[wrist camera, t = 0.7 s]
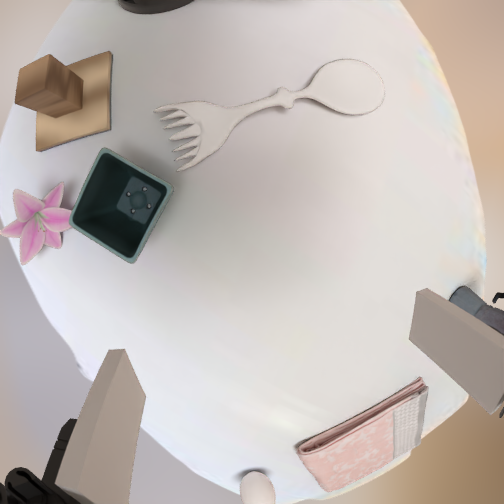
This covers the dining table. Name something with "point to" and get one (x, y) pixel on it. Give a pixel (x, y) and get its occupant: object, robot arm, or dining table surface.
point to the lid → (66, 97)
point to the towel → (367, 439)
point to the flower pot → (119, 205)
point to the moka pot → (479, 307)
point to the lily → (38, 222)
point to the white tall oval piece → (257, 489)
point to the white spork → (320, 89)
